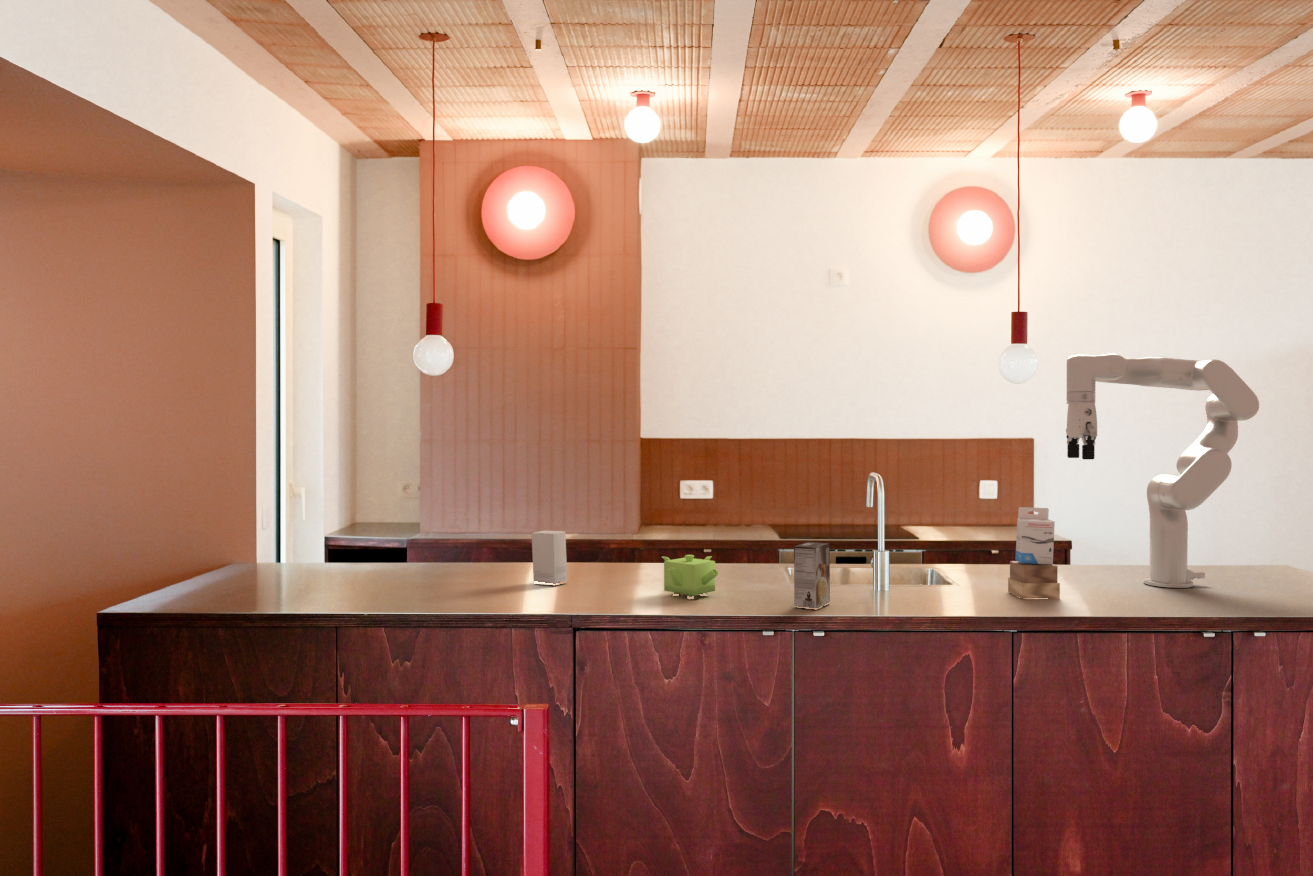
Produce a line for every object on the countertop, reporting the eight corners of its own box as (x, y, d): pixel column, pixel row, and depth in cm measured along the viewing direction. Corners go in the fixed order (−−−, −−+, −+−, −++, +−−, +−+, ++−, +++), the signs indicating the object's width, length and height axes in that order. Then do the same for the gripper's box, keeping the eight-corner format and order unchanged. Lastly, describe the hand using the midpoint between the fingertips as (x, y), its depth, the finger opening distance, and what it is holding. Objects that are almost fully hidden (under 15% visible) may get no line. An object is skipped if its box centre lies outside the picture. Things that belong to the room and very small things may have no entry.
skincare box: (567, 583, 278) (567, 531, 277) (553, 587, 272) (553, 533, 272) (545, 581, 282) (545, 529, 282) (531, 584, 277) (530, 531, 276)
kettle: (661, 591, 265) (661, 551, 265) (711, 590, 266) (711, 550, 266) (665, 601, 250) (665, 559, 250) (718, 600, 251) (718, 558, 251)
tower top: (1042, 577, 259) (1042, 560, 259) (1057, 582, 250) (1057, 565, 250) (1009, 577, 259) (1009, 561, 259) (1024, 583, 250) (1024, 566, 250)
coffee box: (807, 602, 248) (807, 541, 247) (830, 604, 244) (830, 543, 244) (793, 608, 240) (793, 545, 239) (817, 611, 236) (816, 547, 236)
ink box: (1020, 564, 252) (1022, 509, 252) (1015, 560, 257) (1017, 507, 256) (1053, 565, 252) (1055, 510, 251) (1047, 561, 257) (1049, 507, 256)
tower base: (1044, 593, 260) (1044, 576, 259) (1059, 600, 250) (1059, 583, 249) (1008, 593, 260) (1008, 577, 260) (1021, 600, 250) (1021, 583, 250)
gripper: (1108, 397, 260) (1107, 459, 260) (1080, 399, 277) (1080, 457, 278) (1080, 398, 260) (1080, 460, 260) (1055, 399, 277) (1055, 457, 278)
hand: (1080, 458), depth 269 cm, fingers open, 9 cm apart
